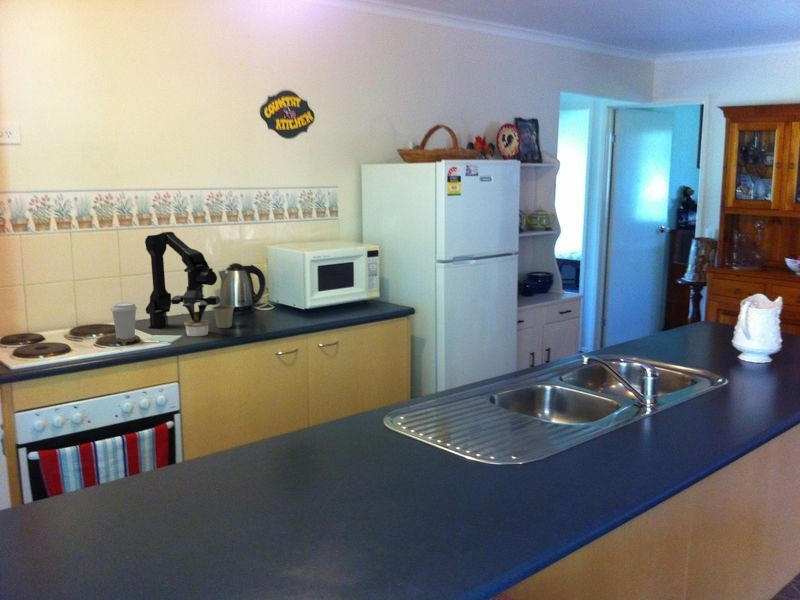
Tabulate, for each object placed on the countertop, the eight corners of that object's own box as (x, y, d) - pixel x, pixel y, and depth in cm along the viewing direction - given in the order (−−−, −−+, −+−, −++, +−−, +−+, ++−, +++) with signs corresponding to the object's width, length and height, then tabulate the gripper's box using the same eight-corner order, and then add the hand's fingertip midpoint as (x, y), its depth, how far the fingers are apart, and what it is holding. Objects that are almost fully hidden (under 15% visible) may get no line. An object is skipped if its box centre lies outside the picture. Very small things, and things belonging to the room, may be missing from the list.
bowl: (183, 336, 298) (183, 326, 298) (191, 331, 307) (190, 322, 306) (203, 336, 298) (203, 327, 297) (210, 332, 306) (210, 322, 305)
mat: (141, 342, 287) (141, 340, 287) (153, 336, 298) (153, 335, 297) (171, 343, 286) (171, 341, 286) (182, 337, 297) (182, 335, 296)
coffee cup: (107, 342, 286) (105, 304, 284) (126, 337, 295) (124, 301, 292) (124, 345, 282) (122, 306, 280) (144, 340, 290) (141, 303, 288)
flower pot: (222, 330, 311) (221, 310, 309) (208, 327, 316) (207, 307, 315) (239, 326, 318) (239, 306, 317) (225, 323, 324) (224, 304, 322)
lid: (180, 325, 297) (179, 314, 296) (189, 321, 307) (189, 309, 306) (204, 326, 296) (203, 314, 295) (212, 321, 306) (212, 310, 305)
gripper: (165, 285, 291) (166, 324, 294) (210, 286, 290) (212, 325, 292) (175, 281, 302) (177, 319, 305) (220, 282, 301) (221, 319, 303)
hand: (196, 320), depth 301 cm, fingers closed on lid, 2 cm apart
